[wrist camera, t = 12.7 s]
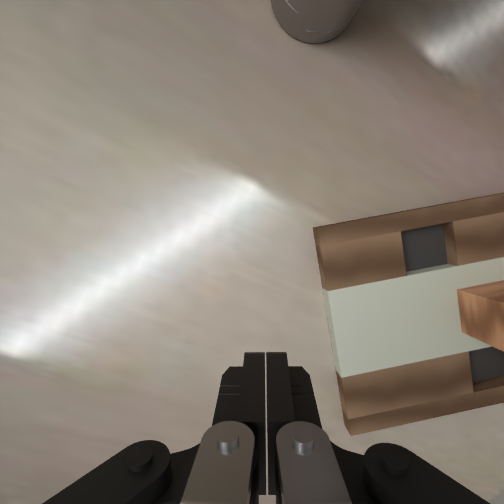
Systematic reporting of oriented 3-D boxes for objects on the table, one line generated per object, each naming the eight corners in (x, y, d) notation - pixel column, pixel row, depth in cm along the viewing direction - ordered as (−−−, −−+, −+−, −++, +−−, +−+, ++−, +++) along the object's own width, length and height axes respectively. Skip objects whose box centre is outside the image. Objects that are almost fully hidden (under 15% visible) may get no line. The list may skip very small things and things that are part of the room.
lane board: (312, 227, 38) (322, 228, 34) (544, 185, 39) (580, 180, 36) (344, 425, 40) (357, 447, 36) (562, 378, 42) (598, 394, 38)
